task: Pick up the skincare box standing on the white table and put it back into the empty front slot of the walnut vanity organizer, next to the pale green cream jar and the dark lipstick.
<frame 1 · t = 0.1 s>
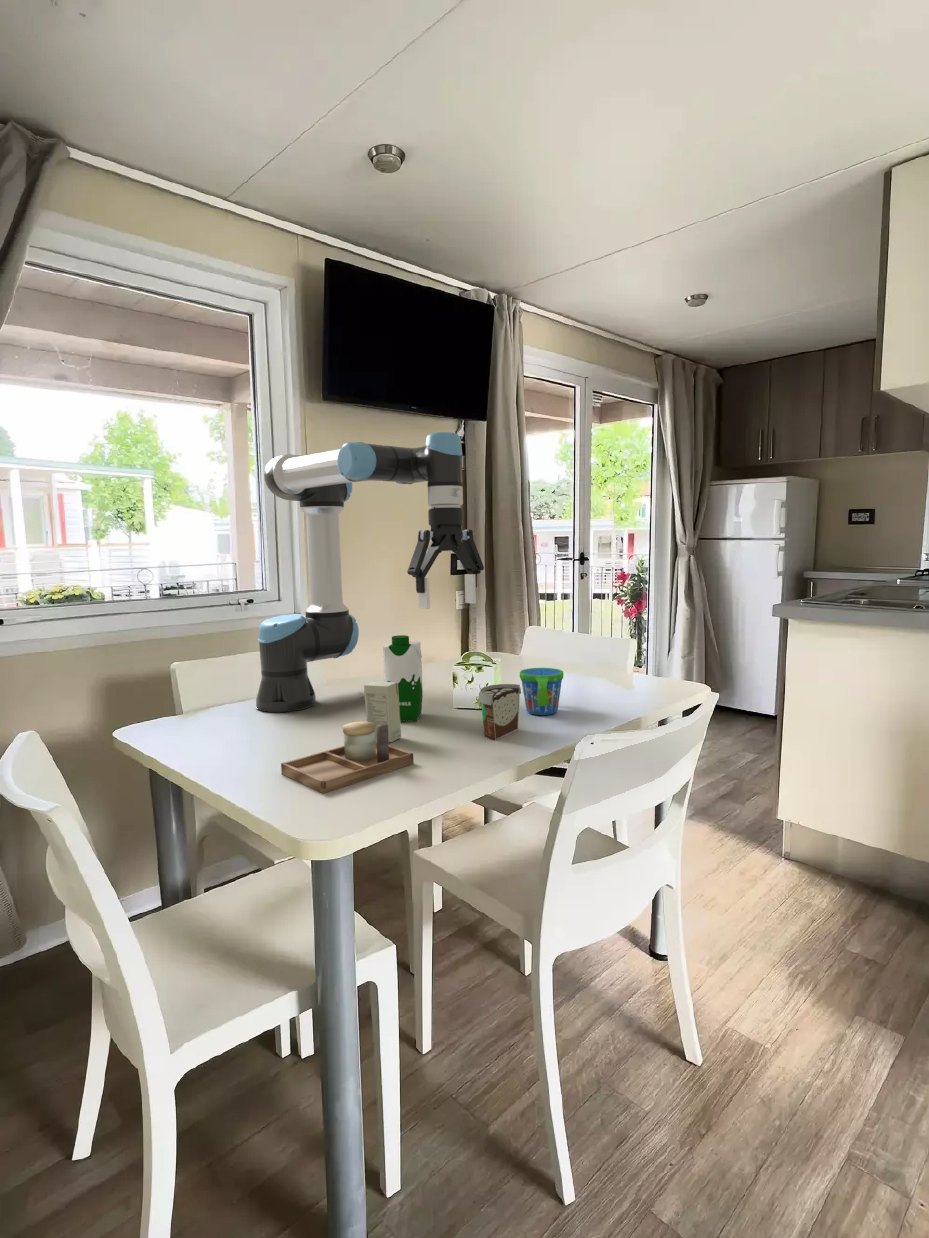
hand: (448, 605, 144), 28 cm above the table, tool pointing down, fingers open, 13 cm apart
milk carton: (404, 718, 159), on the table
skincare box: (383, 739, 142), on the table
food container: (495, 733, 144), on the table
organizer: (348, 768, 123), on the table
snack cup: (541, 713, 160), on the table
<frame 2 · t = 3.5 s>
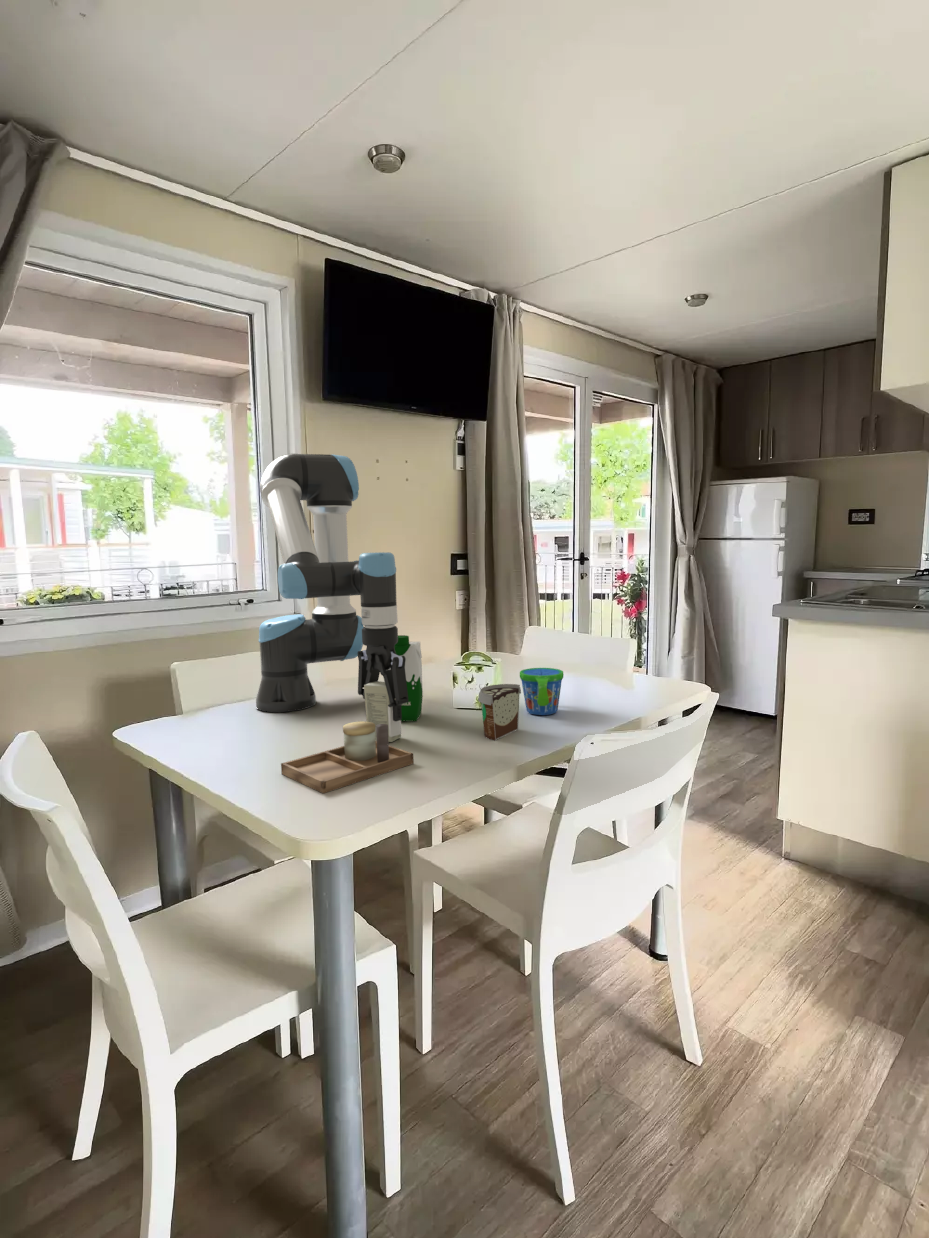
hand: (383, 731, 141), 2 cm above the table, tool pointing down, fingers closed on skincare box, 7 cm apart
skincare box: (383, 739, 142), on the table, touching gripper
everything else where it was.
when the fingers open (3 cm above the table, at t = 9.5 s): skincare box stays where it is, resting on organizer.
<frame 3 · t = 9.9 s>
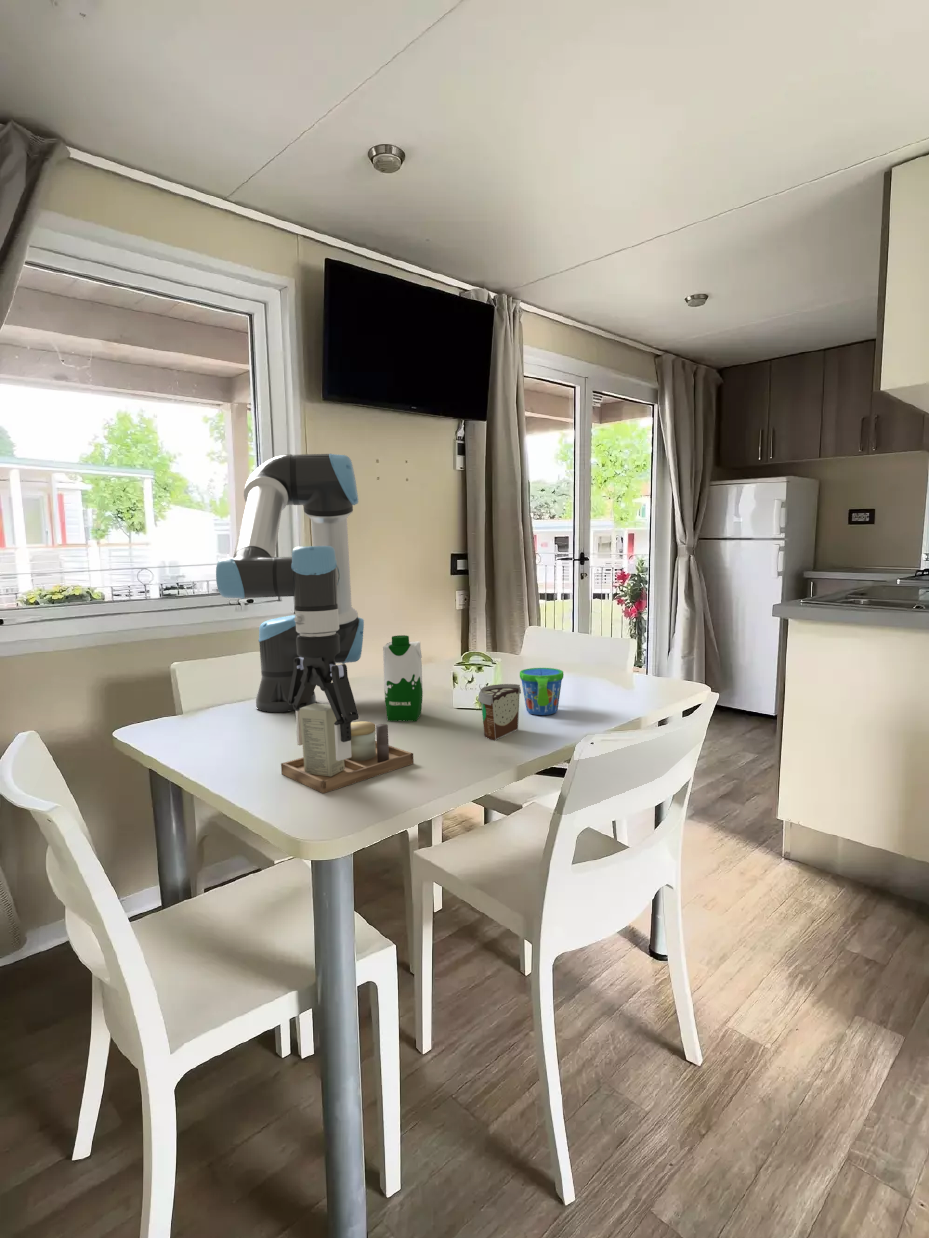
hand: (323, 750, 119), 5 cm above the table, tool pointing down, fingers open, 12 cm apart
skincare box: (324, 772, 120), point 1 cm above the table, touching organizer
everything else where it was.
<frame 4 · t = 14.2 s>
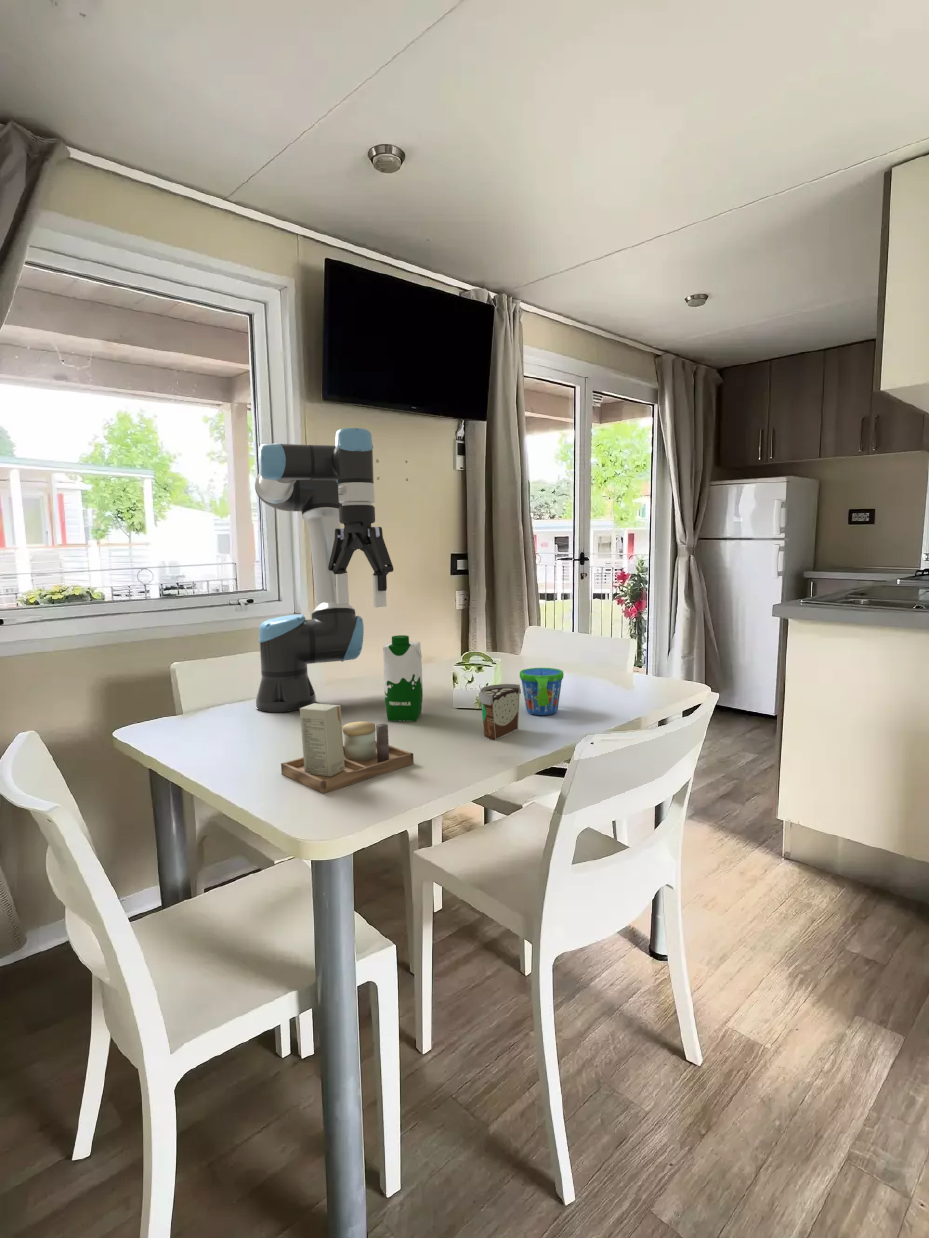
hand: (360, 605, 141), 29 cm above the table, tool pointing down, fingers open, 13 cm apart
nothing on the table moved.
at the end: skincare box inside the target area on the organizer (0.2 cm from its centre), point 0.6 cm above the organizer's base; skincare box tilted 0°; the gripper is holding nothing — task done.
